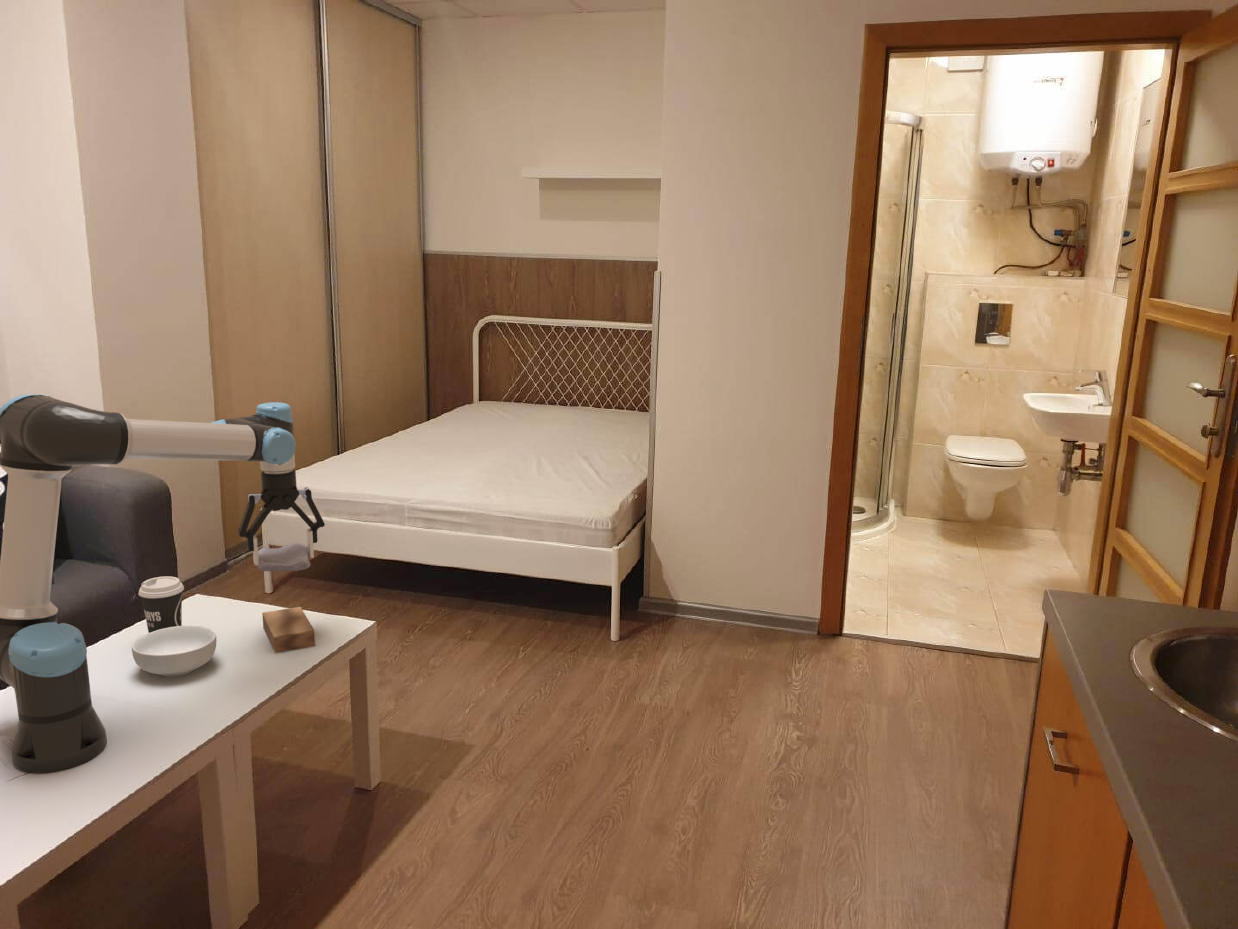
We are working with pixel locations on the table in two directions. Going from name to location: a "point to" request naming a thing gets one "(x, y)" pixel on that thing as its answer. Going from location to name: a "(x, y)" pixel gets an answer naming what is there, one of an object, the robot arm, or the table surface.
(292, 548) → the stone block
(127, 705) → the table surface
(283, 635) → the walnut plinth
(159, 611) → the coffee cup
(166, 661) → the cereal bowl
